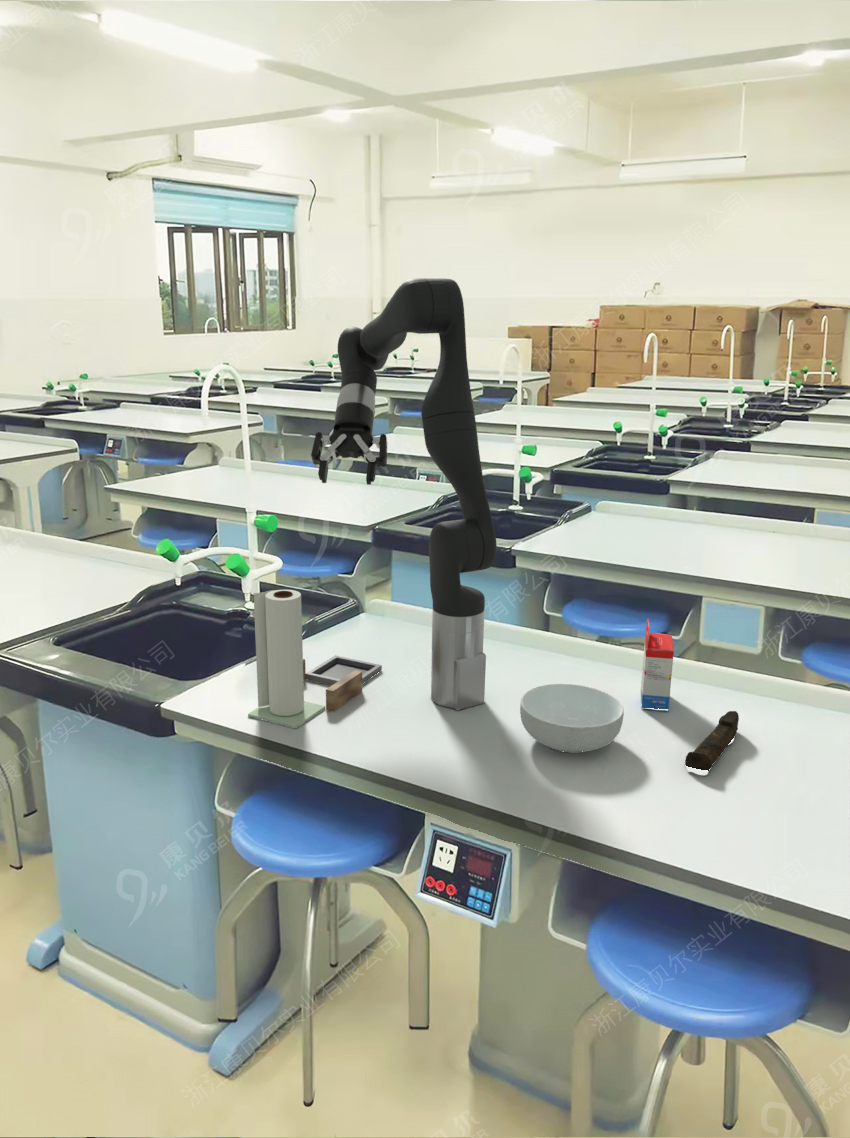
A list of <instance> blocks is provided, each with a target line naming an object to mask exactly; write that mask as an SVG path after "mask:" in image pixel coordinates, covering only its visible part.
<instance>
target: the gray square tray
mask: <svg viewBox="0 0 850 1138" xmlns="http://www.w3.org/2000/svg"><path fill="white" fill-rule="evenodd" d="M382 666H383V665H382V664H379V663H373V662H369V661H364V660H359V659H354V658H350V657H345V656H339V655H333V656H332V657H330V658H328V659H327V660H326V661H324V662H322V663H321V664H319V665H317V666H315V667H314V668H312V669H310V670H309V671H308V672H306V679H305V680H306V681H311V682H316V683H318V684H319V683H320V684H325V685H328V686H332V685H333V684H335V683H336V682H338V681H339V680H341V679H342V678H344V677H345V676H347V675H348V674H350V673H351V672H353V671H354V670H357V671H362V685H364V684H365V683H366V682H368V681H369V680H371V679H372V678H373V677H372V676H374V675H375V674H376V675H378V674H379V673H381V672H382V671H381V670H382V669H383V668H382ZM380 671H381V672H380ZM378 672H379V673H378ZM377 673H378V674H377ZM376 675H375V676H376ZM375 676H374V677H375ZM371 677H372V678H371ZM370 678H371V679H370ZM368 679H369V680H368ZM367 680H368V681H367ZM364 682H365V683H364ZM363 683H364V684H363Z"/></svg>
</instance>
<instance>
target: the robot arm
mask: <svg viewBox="0 0 850 1138" xmlns="http://www.w3.org/2000/svg"><path fill="white" fill-rule="evenodd" d="M464 305H465V304H464V299H463V294H462V291H461V288H460V286H459V284H458V283H457V282H456V281H455V280H454V279H451V278H420V277H419V278H410V279H407V280H405V281H404V282H403V283H401V284H400V285H399V287H398V288H397V289H396V290H395V292H394V293H393V295H392V296H391V298H390V299H389V301H388V302H387V304H386V305H385V307H384V309H383V310H382V312H381V313H379V315H378V316H377V317H375V318H374V319H372V320H371V321H370V322H369V323H367V324H366V325H365V326H364V327H363V329H362V328H360V327H358V326H349V327H347V328H345V329H344V330H343V331H342V332H341V333H340V336H339V338H338V342H337V357H338V360H339V361H338V362H339V367H340V373H341V385H340V391H339V394H338V397H337V401H336V407H335V413H334V414H335V415H334V422H333V423H334V424H333V428H332V432H331V434H330V435H326V434H322V432H321V431H319V432H318V431H317V432H316V433H315V435H314V441H313V444H312V448H311V453H310V456H311V461H312V464H313V465H314V466H316V465H317V466H318V465H319V468H318V471H317V472H318V473H317V474H318V475H317V476H318V477H319V480H320V481H321V483H322V484H327V479H328V473H329V466H330V465H331V464H332V463H333V462H336V461H338V459H340V458H342V459H347V458H352V459H359V458H360V457H361V458H362V459H363V461H364V462H365V463H367V468H366V476H365V481H366V485H368V486H369V485H370V486H371V485H372V483H375V480H376V472H377V468H379V467H383V468H384V467H387V465H388V464H387V463H388V439H387V434H385V433H381V434H380V435H379V436H373V428H374V419H375V415H376V391H377V385H378V384H377V383H378V376H377V373H376V372H375V371H380V370H381V369H382V368H384V366H385V364H386V363H387V360H388V358H389V355H390V354H391V353H392V352H394V351H396V350H397V349H399V348H400V347H401V346H402V345H403V344H404V342H405V341H406V338H407V336H408V333H412V334H417V335H419V334H420V335H421V334H427V335H428V334H438V336H439V337H438V338H439V343H440V348H439V349H440V354H439V355H440V356H439V362H438V365H437V368H436V372H435V373H434V377H433V378H432V380H431V383H430V385H429V387H428V390H427V391H426V394H425V397H424V399H423V402H422V406H421V409H420V410H421V412H420V413H421V414H420V415H421V422H422V429H423V436H424V443H425V447H426V451H427V452H428V454H429V456H430V458H431V459H432V461H433V462H434V464H435V465H436V467H438V469H439V470H440V471H441V473H442V474H443V475H444V477H446V479H447V480H448V481H449V483H450V485H451V486H452V488H453V490H454V491H455V493H456V496H457V498H458V501H459V505H460V509H461V514H462V519H455V520H448V521H447V520H446V521H440V522H437V523H436V524H434V526H433V527H432V529H431V531H430V534H429V541H428V557H429V561H428V562H429V578H430V579H429V584H430V585H429V587H430V593H431V599H432V600H431V601H432V612H431V613H432V622H431V628H432V629H431V670H430V671H431V672H430V673H431V674H430V675H431V676H430V677H431V679H430V680H431V681H430V682H431V683H430V684H431V685H430V688H431V689H430V698H431V700H432V701H433V702H434V703H435V704H437V705H439V706H442V707H446V708H452V709H454V710H455V711H460V710H463V709H466V708H467V709H468V708H470V707H474V706H477V705H480V704H484V703H485V694H486V691H485V689H486V666H487V664H486V663H487V655H486V653H485V652H484V638H485V637H484V635H485V634H484V633H485V611H486V610H485V604H486V598H485V595H484V593H483V592H482V591H481V590H479V589H477V588H474V587H470V586H467V585H463V584H461V574H463V573H470V572H476V571H484V570H487V569H488V570H489V568H491V567H492V566H493V565H494V563H495V560H496V559H497V558H496V557H497V548H498V547H497V546H498V545H497V538H496V537H497V535H496V530H495V525H494V522H493V518H492V513H491V508H490V505H489V500H488V495H487V491H486V486H485V482H484V475H483V468H482V464H481V456H480V446H479V439H478V429H477V428H478V427H477V421H476V415H475V408H474V403H473V397H472V392H471V391H472V389H471V383H470V376H469V368H468V367H469V366H468V358H467V357H468V356H467V340H466V339H467V337H466V335H467V334H466V321H465V320H466V318H465V306H464ZM329 443H330V445H329V446H328V447H327V450H326V451H325V452H323V454H322V451H323V448H325V447H326V446H327V444H329ZM374 444H375V446H376V448H377V449H379V455H378V456H376V457H375V455H374V454H373V452H372V451H371V450H370V449H371V447H372V446H373V445H374Z"/></svg>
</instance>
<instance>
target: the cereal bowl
mask: <svg viewBox="0 0 850 1138" xmlns="http://www.w3.org/2000/svg"><path fill="white" fill-rule="evenodd" d="M519 706H520V708H519V713H520V720H521V723H522V725H523V728H524V730H525V731H526V732H527V733H528V734H529V736H530V737H532V738H533V739H534V740H536V741H537V742H538V743H540V744H542V745H544V746H547V747H548V748H550V747H551V748H550V749H552V748H553V750H554V749H555V751H557V750H558V751H557V752H560V751H564V752H563V753H565V752H581V753H584V751H585V752H592V751H596V750H599V749H601V748H603V747H606V746H607V745H609V744H610V743H612V742H613V741H614V740H615V739H616V738H617V736H618V735H619V734H620V732H621V729H622V726H623V722H624V721H623V720H624V714H625V713H624V705H623V704H622V702H621V701H620V700H619V699H617V698H616V696H613V695H612V694H609V693H608V692H605V691H602V690H600V689H598V688H595V687H589V686H585V685H579V684H573V683H572V684H571V683H551V684H543V685H540V686H535V687H533V688H531V689H529V690H527V691H526V692H525V693H523V695H522V697H521V700H520V705H519ZM582 751H583V752H582Z"/></svg>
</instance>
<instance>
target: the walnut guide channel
mask: <svg viewBox="0 0 850 1138" xmlns="http://www.w3.org/2000/svg"><path fill="white" fill-rule="evenodd" d="M306 673H307V672H306V659H305V658H303V681H305V680H306ZM362 692H363V684H362V671H357V670H354V671H353V672H351V673H350V674H348V675H347V676H345V677H344V678H342V679H341V680H339V681H338V682H336V683H335V684H333V685H329V687H327V688H325V711H326V710H328V711H327V712H331V711H332V712H331V713H334V712H336V711H337V710H338V708H339V709H340V708H341V707H343V706H344V705H346V704H347V703H348V702H350V701H352V700H353V699H354V698H355V697H357V696H358V695H360V694H361V693H362ZM352 698H353V699H352ZM349 700H350V701H349Z"/></svg>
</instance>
